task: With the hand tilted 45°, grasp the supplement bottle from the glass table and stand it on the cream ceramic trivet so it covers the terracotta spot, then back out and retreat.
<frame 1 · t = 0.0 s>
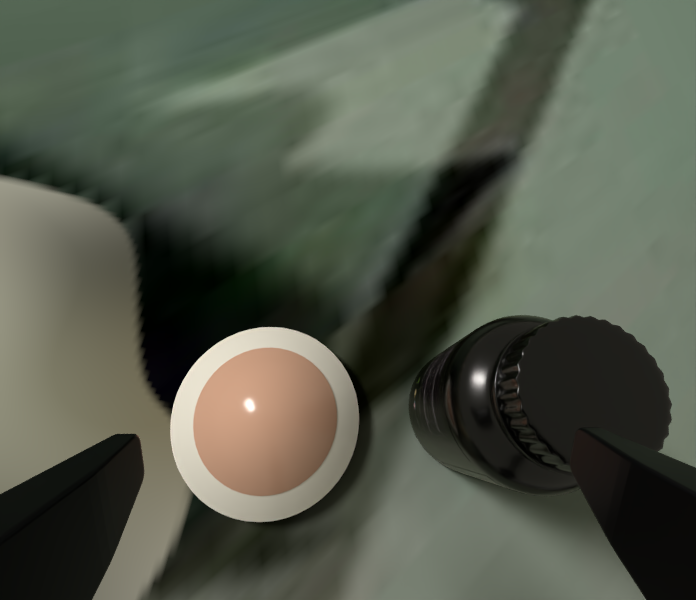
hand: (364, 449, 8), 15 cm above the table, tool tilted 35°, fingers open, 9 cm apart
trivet: (268, 418, 22), on the table
supplement bottle: (462, 408, 23), on the table
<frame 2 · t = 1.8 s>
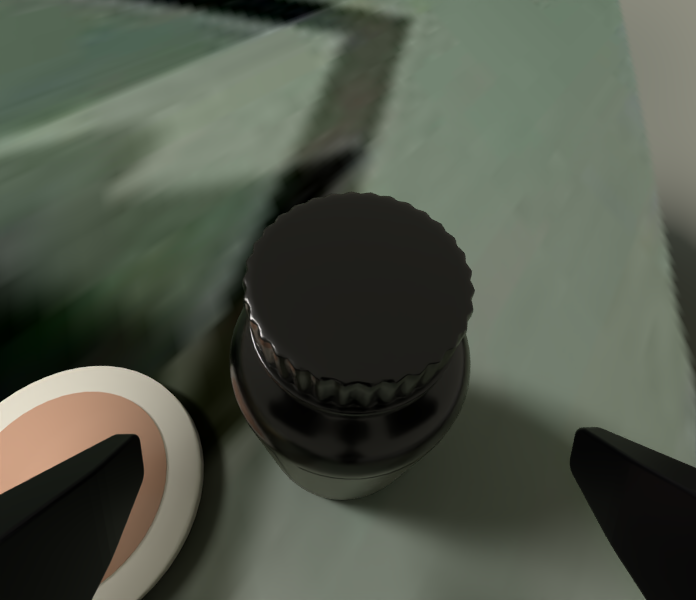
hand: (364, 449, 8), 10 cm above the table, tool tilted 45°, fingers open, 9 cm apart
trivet: (78, 490, 16), on the table
supplement bottle: (340, 419, 19), on the table
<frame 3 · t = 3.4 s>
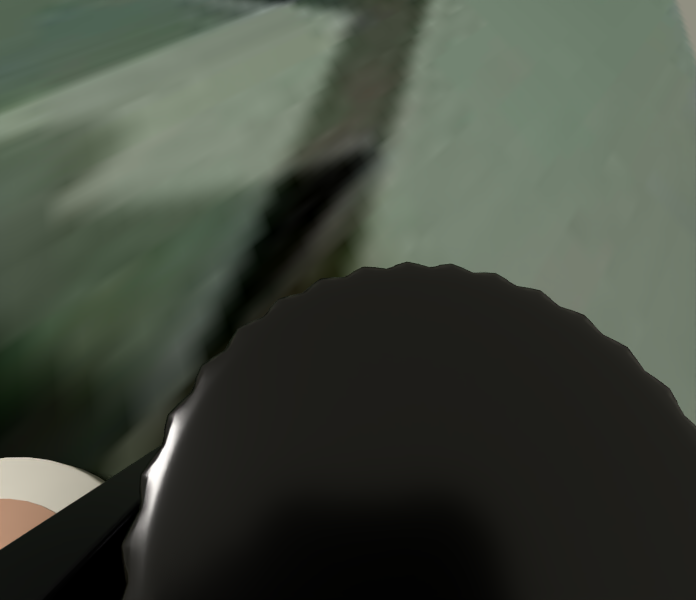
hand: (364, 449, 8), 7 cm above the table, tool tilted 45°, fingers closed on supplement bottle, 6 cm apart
supplement bottle: (351, 528, 13), on the table, touching gripper
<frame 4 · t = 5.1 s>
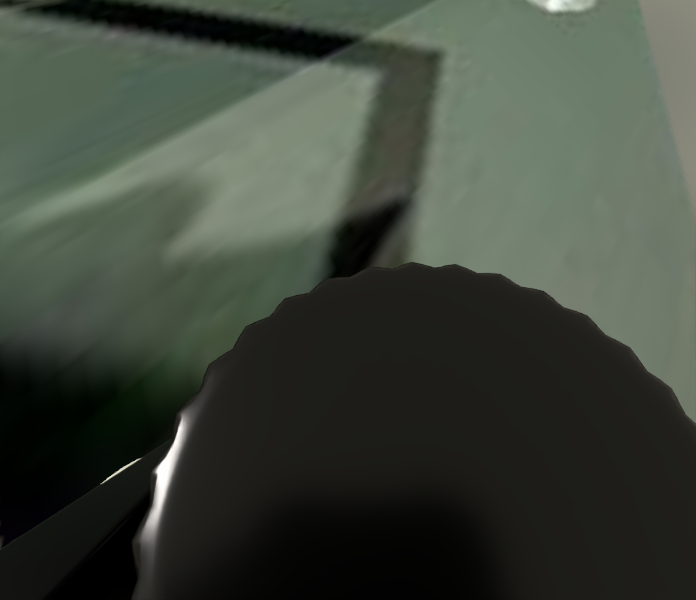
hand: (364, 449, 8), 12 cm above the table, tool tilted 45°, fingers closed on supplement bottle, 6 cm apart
supplement bottle: (351, 526, 14), point 5 cm above the table, touching gripper
when the fingers open (8 cm above the table, at t = 7.0 s): supplement bottle stays where it is, resting on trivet.
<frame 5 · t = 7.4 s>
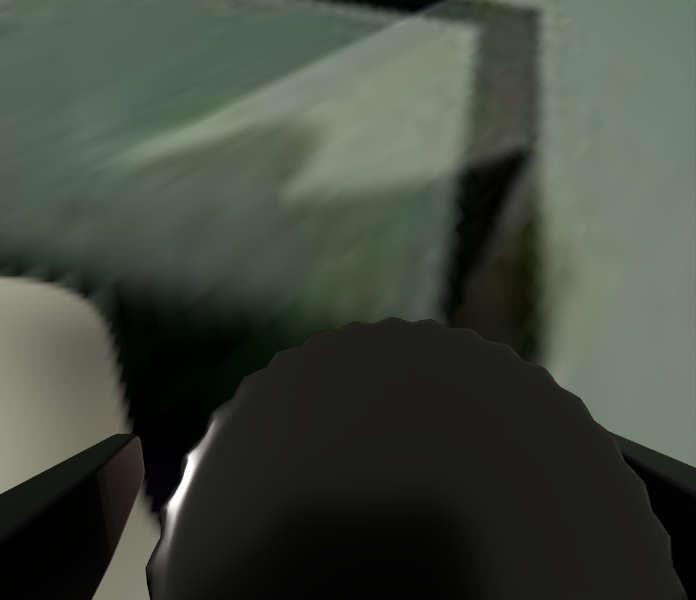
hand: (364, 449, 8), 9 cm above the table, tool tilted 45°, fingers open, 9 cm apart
supplement bottle: (348, 535, 14), point 1 cm above the table, touching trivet
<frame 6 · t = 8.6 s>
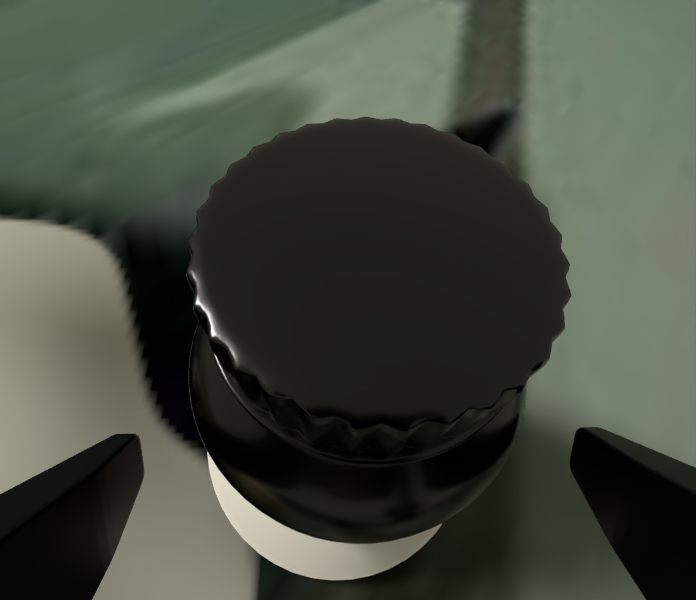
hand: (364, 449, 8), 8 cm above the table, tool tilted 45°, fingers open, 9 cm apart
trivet: (338, 429, 16), on the table
supplement bottle: (341, 433, 16), point 1 cm above the table, touching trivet
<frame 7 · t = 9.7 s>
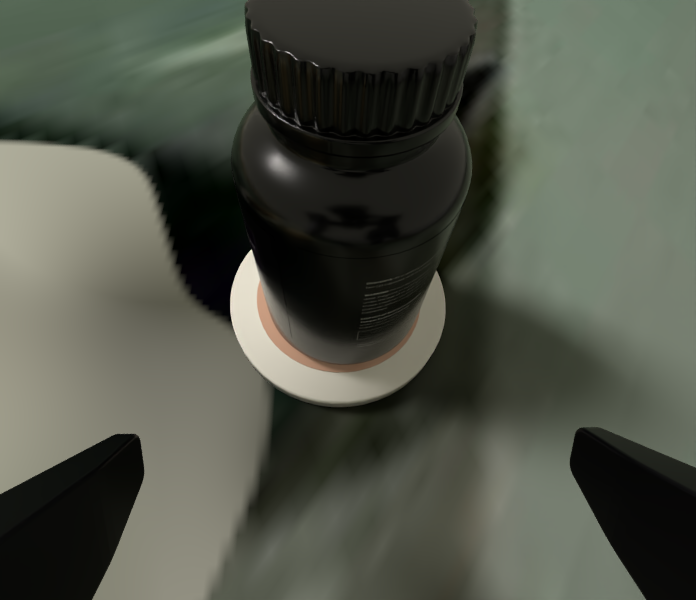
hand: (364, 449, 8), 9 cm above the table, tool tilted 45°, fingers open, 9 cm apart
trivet: (338, 304, 20), on the table
supplement bottle: (341, 301, 19), point 1 cm above the table, touching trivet
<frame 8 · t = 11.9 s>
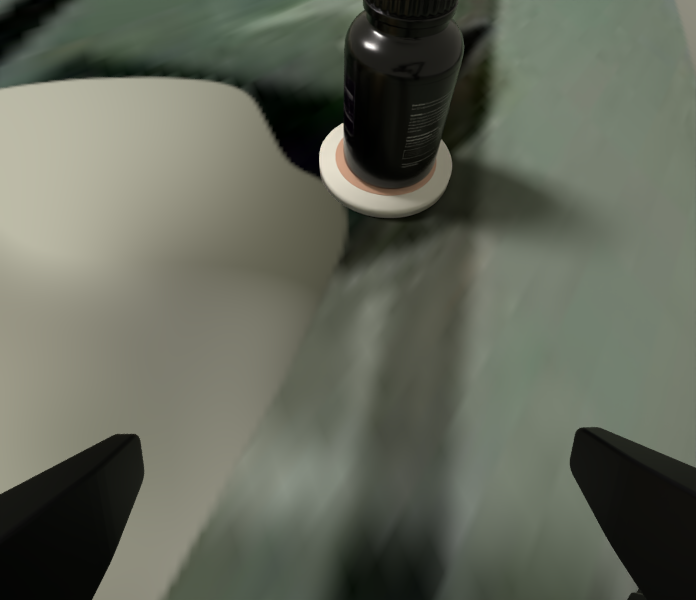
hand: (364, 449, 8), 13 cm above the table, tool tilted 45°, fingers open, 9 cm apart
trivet: (384, 168, 31), on the table
supplement bottle: (387, 161, 30), point 1 cm above the table, touching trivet
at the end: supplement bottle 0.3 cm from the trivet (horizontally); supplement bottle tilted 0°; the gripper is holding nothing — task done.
